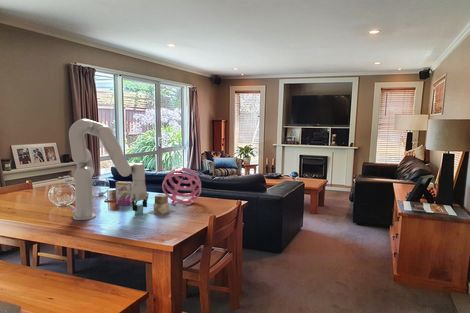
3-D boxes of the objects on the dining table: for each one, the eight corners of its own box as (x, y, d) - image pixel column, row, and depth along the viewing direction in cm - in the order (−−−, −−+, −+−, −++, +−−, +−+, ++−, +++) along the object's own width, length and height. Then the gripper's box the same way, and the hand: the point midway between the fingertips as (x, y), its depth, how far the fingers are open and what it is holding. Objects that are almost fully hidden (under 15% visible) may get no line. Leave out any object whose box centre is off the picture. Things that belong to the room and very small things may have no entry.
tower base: (153, 212, 209) (153, 203, 208) (160, 210, 215) (160, 201, 215) (162, 214, 206) (162, 204, 206) (168, 211, 213) (168, 202, 212)
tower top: (154, 203, 209) (154, 196, 208) (160, 201, 214) (160, 194, 214) (162, 204, 206) (162, 196, 206) (167, 202, 212) (167, 195, 211)
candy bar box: (115, 205, 228) (115, 182, 227) (118, 203, 233) (118, 181, 232) (130, 205, 227) (130, 182, 226) (133, 204, 232) (133, 181, 231)
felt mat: (145, 213, 207) (145, 213, 207) (158, 208, 220) (158, 208, 220) (163, 216, 202) (163, 216, 202) (176, 211, 215) (176, 210, 215)
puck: (132, 215, 204) (132, 205, 204) (138, 213, 209) (138, 204, 208) (139, 216, 202) (139, 206, 202) (144, 214, 207) (144, 204, 206)
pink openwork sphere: (189, 182, 212) (195, 156, 233) (151, 190, 218) (160, 164, 239) (204, 210, 229) (208, 183, 250) (168, 216, 235) (175, 190, 256)
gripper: (143, 179, 213) (143, 205, 215) (124, 184, 197) (125, 211, 199) (152, 180, 210) (153, 206, 212) (134, 185, 194) (135, 213, 196)
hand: (139, 208), depth 205 cm, fingers open, 9 cm apart
